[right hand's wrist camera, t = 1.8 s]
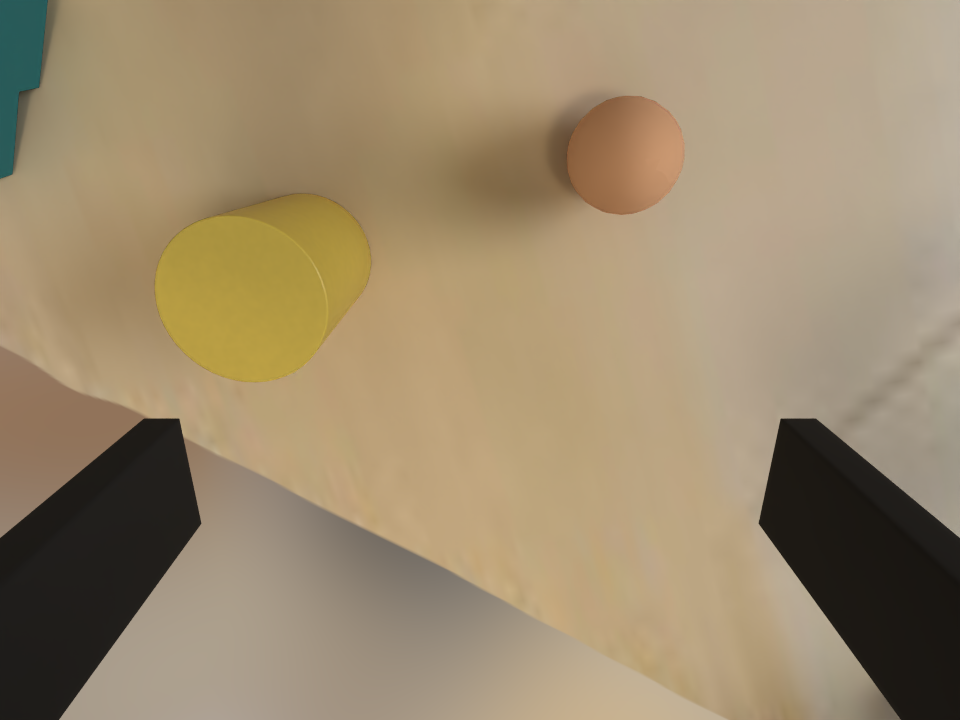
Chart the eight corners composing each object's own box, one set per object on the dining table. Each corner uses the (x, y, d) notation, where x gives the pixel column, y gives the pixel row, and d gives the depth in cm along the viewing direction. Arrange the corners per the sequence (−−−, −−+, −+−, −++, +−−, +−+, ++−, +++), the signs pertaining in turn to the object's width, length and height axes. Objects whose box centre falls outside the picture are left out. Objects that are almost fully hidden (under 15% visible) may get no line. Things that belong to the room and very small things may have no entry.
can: (368, 322, 38) (326, 391, 28) (248, 309, 38) (161, 373, 28) (374, 201, 35) (329, 226, 25) (245, 186, 35) (146, 205, 25)
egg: (621, 77, 33) (662, 58, 25) (678, 161, 34) (733, 167, 27) (538, 148, 34) (555, 151, 27) (597, 227, 36) (628, 249, 28)
